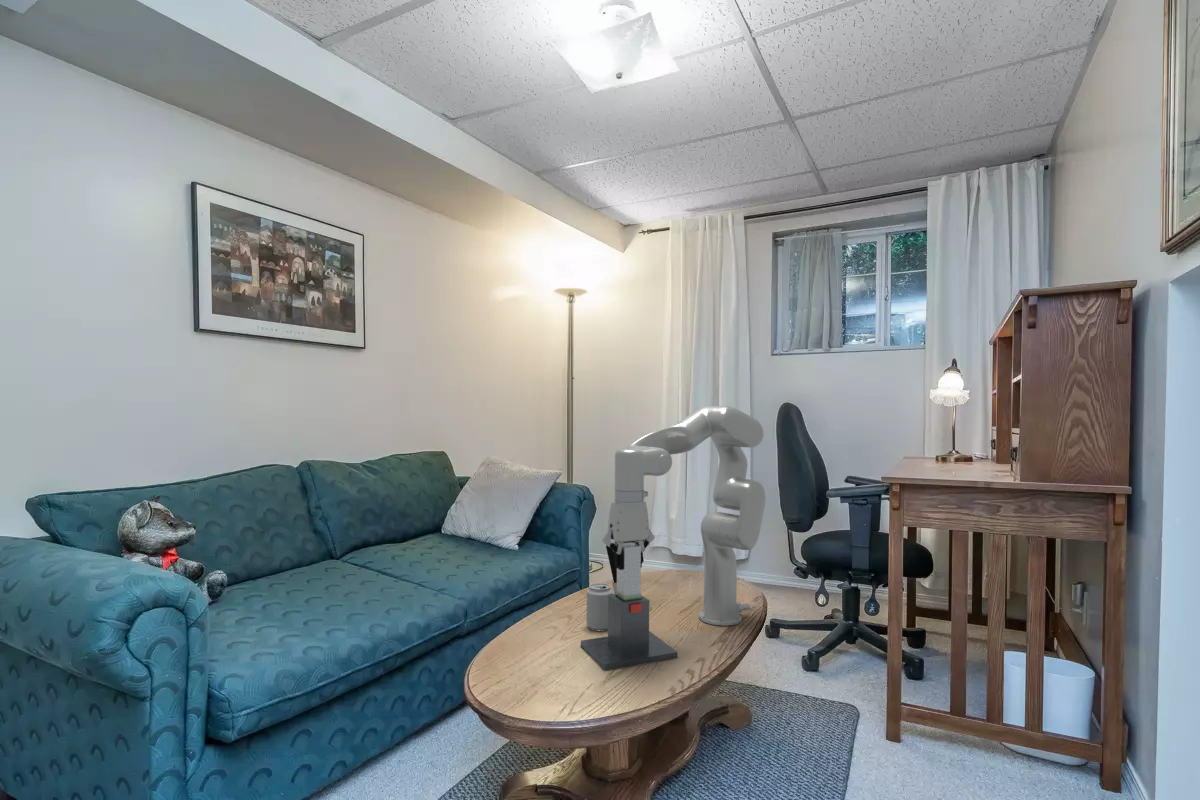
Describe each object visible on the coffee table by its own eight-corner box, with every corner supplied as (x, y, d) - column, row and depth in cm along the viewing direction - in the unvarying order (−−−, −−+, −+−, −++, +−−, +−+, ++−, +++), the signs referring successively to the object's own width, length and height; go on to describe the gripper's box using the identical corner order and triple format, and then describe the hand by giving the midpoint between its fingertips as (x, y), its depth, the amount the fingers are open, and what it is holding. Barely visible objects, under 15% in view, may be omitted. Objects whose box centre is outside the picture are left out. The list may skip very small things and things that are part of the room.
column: (632, 616, 160) (633, 542, 160) (640, 622, 155) (641, 546, 155) (615, 619, 158) (616, 543, 158) (623, 625, 153) (624, 547, 154)
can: (610, 633, 169) (610, 589, 170) (583, 630, 171) (584, 588, 171) (614, 623, 177) (615, 582, 177) (589, 621, 178) (589, 580, 178)
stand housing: (648, 635, 168) (648, 584, 168) (677, 658, 153) (678, 602, 153) (580, 646, 160) (581, 592, 160) (604, 670, 145) (605, 611, 145)
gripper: (651, 493, 164) (651, 561, 163) (593, 496, 157) (592, 567, 157) (665, 497, 157) (664, 568, 156) (604, 500, 150) (604, 574, 150)
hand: (628, 566), depth 157 cm, fingers closed on column, 4 cm apart
